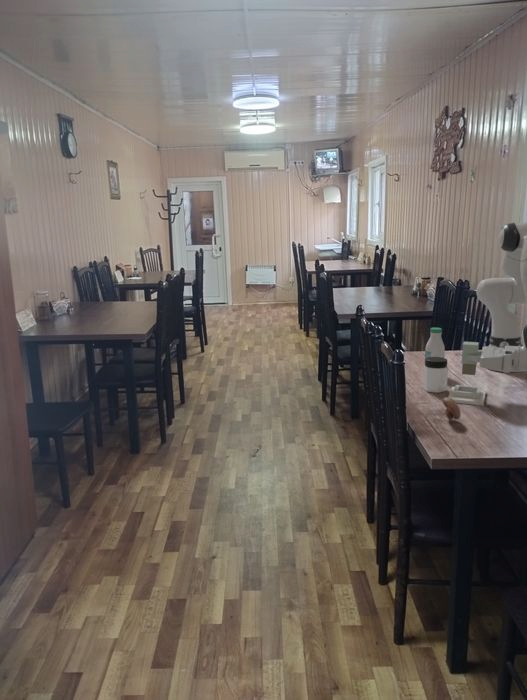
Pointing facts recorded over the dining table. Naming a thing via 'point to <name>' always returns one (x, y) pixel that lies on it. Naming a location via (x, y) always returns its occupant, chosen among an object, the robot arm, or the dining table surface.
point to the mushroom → (451, 408)
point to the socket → (468, 395)
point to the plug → (468, 365)
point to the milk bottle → (435, 344)
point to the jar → (435, 374)
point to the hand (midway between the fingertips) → (467, 355)
